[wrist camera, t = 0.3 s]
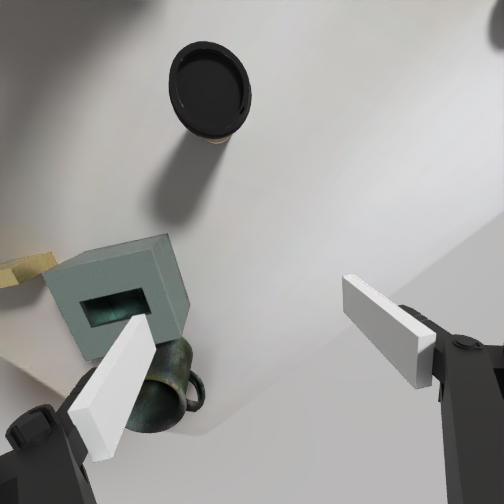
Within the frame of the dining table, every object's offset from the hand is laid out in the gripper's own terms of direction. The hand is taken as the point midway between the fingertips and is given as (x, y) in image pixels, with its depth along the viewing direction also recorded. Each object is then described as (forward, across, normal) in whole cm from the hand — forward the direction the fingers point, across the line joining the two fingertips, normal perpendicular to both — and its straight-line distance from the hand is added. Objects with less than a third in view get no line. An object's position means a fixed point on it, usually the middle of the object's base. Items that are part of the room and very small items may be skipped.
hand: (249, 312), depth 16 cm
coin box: (+27, -18, -6) cm, 33 cm away
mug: (+28, -16, -23) cm, 39 cm away
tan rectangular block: (+27, -33, 0) cm, 43 cm away
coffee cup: (+28, 0, +17) cm, 32 cm away
